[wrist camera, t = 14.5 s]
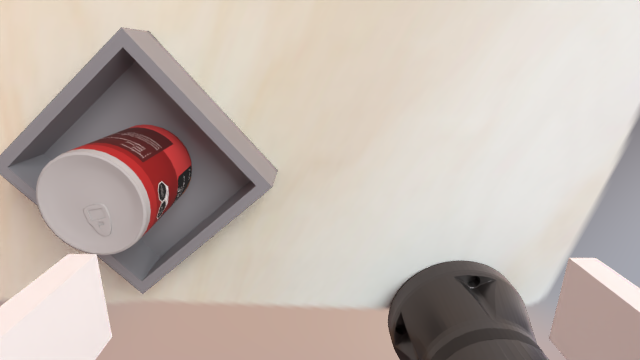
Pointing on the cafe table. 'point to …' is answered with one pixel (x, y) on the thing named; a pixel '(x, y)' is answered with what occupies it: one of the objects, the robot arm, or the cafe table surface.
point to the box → (158, 110)
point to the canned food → (113, 188)
